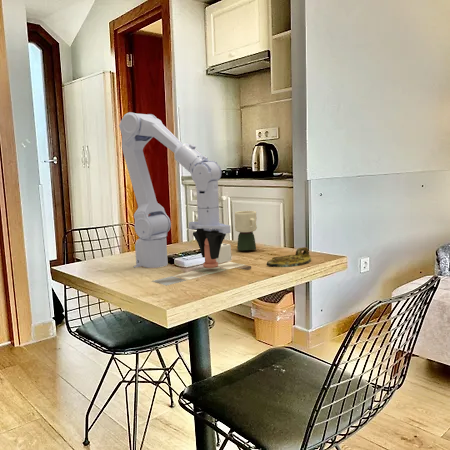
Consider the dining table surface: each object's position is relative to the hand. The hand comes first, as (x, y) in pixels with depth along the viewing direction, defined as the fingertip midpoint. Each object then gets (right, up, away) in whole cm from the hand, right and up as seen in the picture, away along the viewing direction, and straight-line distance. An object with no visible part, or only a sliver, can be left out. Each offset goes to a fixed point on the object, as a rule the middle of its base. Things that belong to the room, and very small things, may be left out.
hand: (210, 257), depth 128 cm
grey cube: (+2, -2, +16) cm, 17 cm away
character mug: (+11, 0, +30) cm, 32 cm away
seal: (+23, -3, +10) cm, 25 cm away
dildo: (0, -2, 0) cm, 2 cm away
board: (-2, -5, -2) cm, 6 cm away
